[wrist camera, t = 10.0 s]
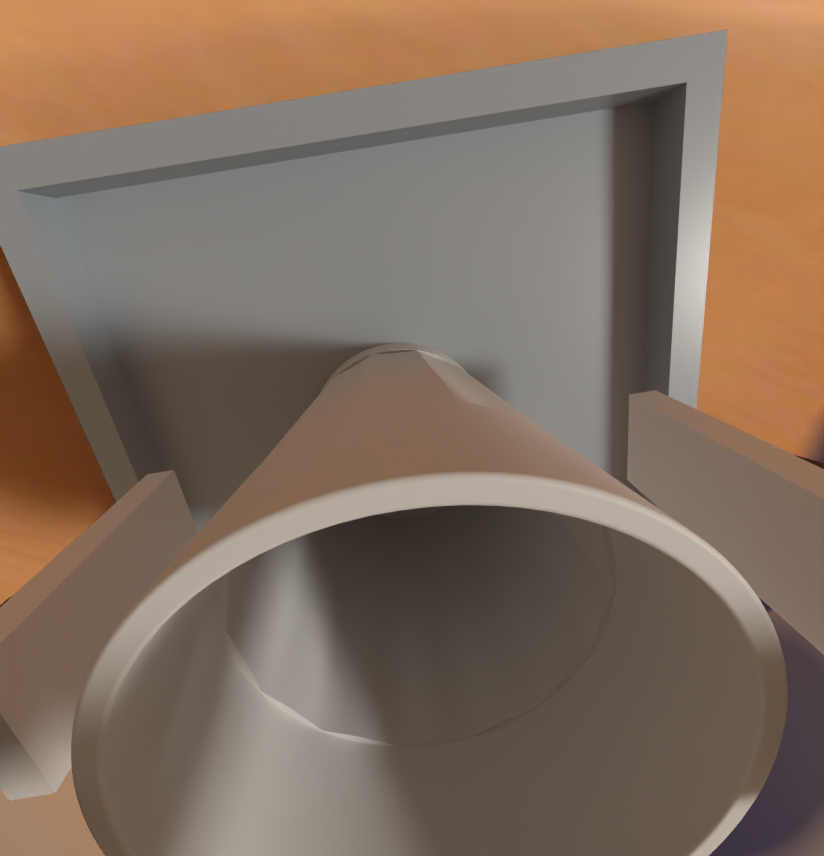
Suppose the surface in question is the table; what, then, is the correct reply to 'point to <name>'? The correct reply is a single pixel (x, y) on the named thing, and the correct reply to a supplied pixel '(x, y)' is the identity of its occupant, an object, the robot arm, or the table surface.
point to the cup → (431, 652)
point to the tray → (376, 254)
